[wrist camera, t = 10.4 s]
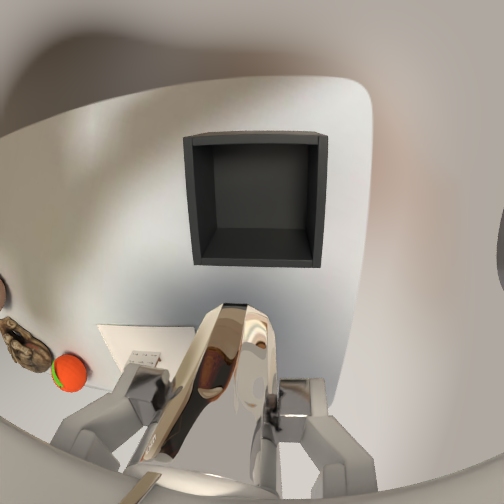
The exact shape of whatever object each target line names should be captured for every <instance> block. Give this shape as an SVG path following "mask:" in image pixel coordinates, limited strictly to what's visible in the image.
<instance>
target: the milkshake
mask: <svg viewBox="0 0 504 504" xmlns="http://www.w3.org/2000/svg"><path fill="white" fill-rule="evenodd" d="M279 449H280V448H279V433H278V396H277V370H276V346H275V333H274V330H273V328H272V326H271V323H270V321H269V319H268V316H267V315H265V314H264V313H262V312H260V311H259V310H257V309H255V308H254V307H252V306H250V305H249V304H236V303H223V304H222V305H220V306H218V307H217V308H215V309H213V310H212V311H210V312H208V313H207V314H206V315H205V317H204V319H203V321H202V323H201V325H200V327H199V329H198V331H197V333H196V335H195V337H194V339H193V340H192V342H191V344H190V346H189V348H188V350H187V352H186V354H185V356H184V358H183V360H182V362H181V364H180V366H179V368H178V370H177V372H176V374H175V376H174V378H173V380H172V382H171V384H170V386H169V388H168V390H167V392H166V394H165V396H164V398H163V400H162V402H161V404H160V406H159V407H158V409H157V411H156V413H155V415H154V417H153V418H152V420H151V422H150V424H149V426H148V428H147V430H146V431H145V433H144V435H143V437H142V439H141V441H140V442H139V444H138V446H137V448H136V450H135V452H134V454H133V456H132V457H131V459H130V461H129V463H128V465H127V467H126V469H125V470H124V472H123V474H126V475H129V476H132V477H136V478H139V479H140V480H139V481H138V482H137V484H136V485H135V486H134V487H133V488H132V489H131V490H130V491H129V492H128V494H127V495H126V496H125V497H124V498H123V499H122V500H121V501H120V502H119V503H118V504H139V503H140V502H141V501H142V500H143V498H144V497H145V496H146V495H147V494H148V492H149V491H150V490H151V489H152V487H153V486H154V485H155V484H156V485H159V486H162V487H165V488H168V489H172V490H176V491H180V492H184V493H188V494H193V495H199V496H210V497H215V496H230V497H245V498H260V499H282V485H281V484H282V482H281V466H280V450H279Z"/></svg>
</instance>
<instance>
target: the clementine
mask: <svg viewBox="0 0 504 504" xmlns="http://www.w3.org/2000/svg"><path fill="white" fill-rule="evenodd" d="M51 374H52V378H53V380H54V382H55V384H56V385H57V386H58V387H59V388H60V389H61V390H63V391H66V392H76V391H79V390H80V389H81V388H82V387H83V386H84V385H85V383H86V379H87V373H86V368H85V366H84V365H83V363H82V362H81V361H80V360H79V359H78V358H76V357H74V356H72V355H62V356H60V357H58V358H57V359H56V360H55V361H53V363H52V368H51Z"/></svg>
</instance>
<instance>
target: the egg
mask: <svg viewBox="0 0 504 504" xmlns="http://www.w3.org/2000/svg"><path fill="white" fill-rule="evenodd" d="M5 298H6V291H5V287H4V284H3V282H2V281H1V279H0V311H1V309H2V308H3V306H4V303H5Z"/></svg>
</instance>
